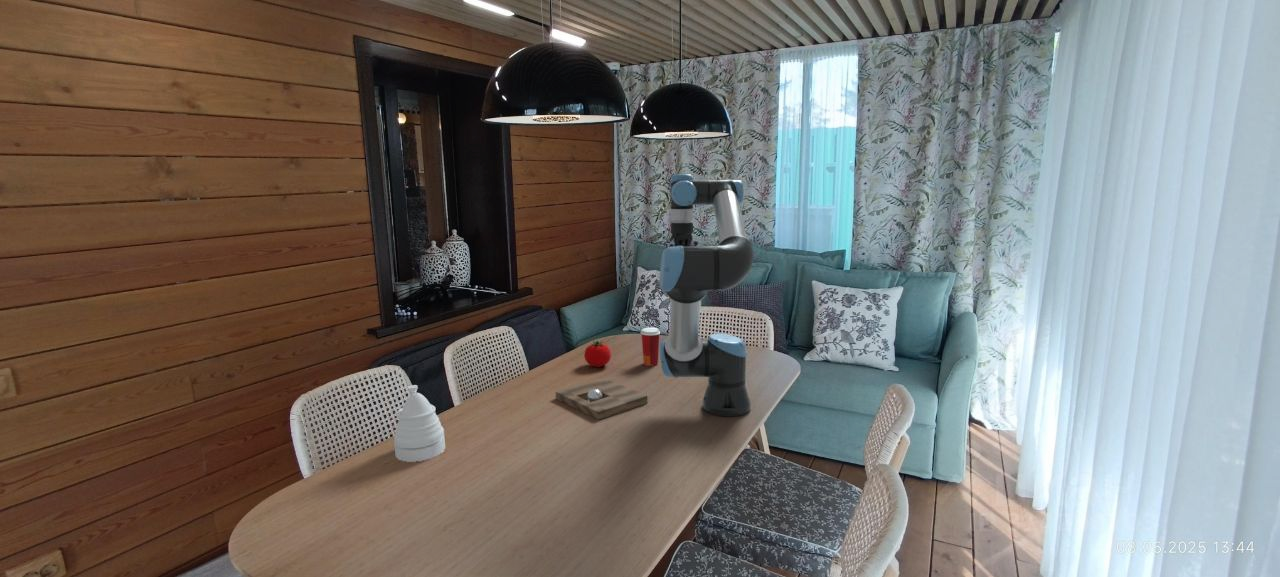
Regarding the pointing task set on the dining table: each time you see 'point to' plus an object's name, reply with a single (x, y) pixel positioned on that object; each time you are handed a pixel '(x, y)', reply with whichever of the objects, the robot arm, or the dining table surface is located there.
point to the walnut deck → (611, 402)
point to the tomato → (597, 354)
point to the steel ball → (594, 395)
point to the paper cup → (650, 345)
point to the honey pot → (418, 429)
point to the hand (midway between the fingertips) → (682, 291)
